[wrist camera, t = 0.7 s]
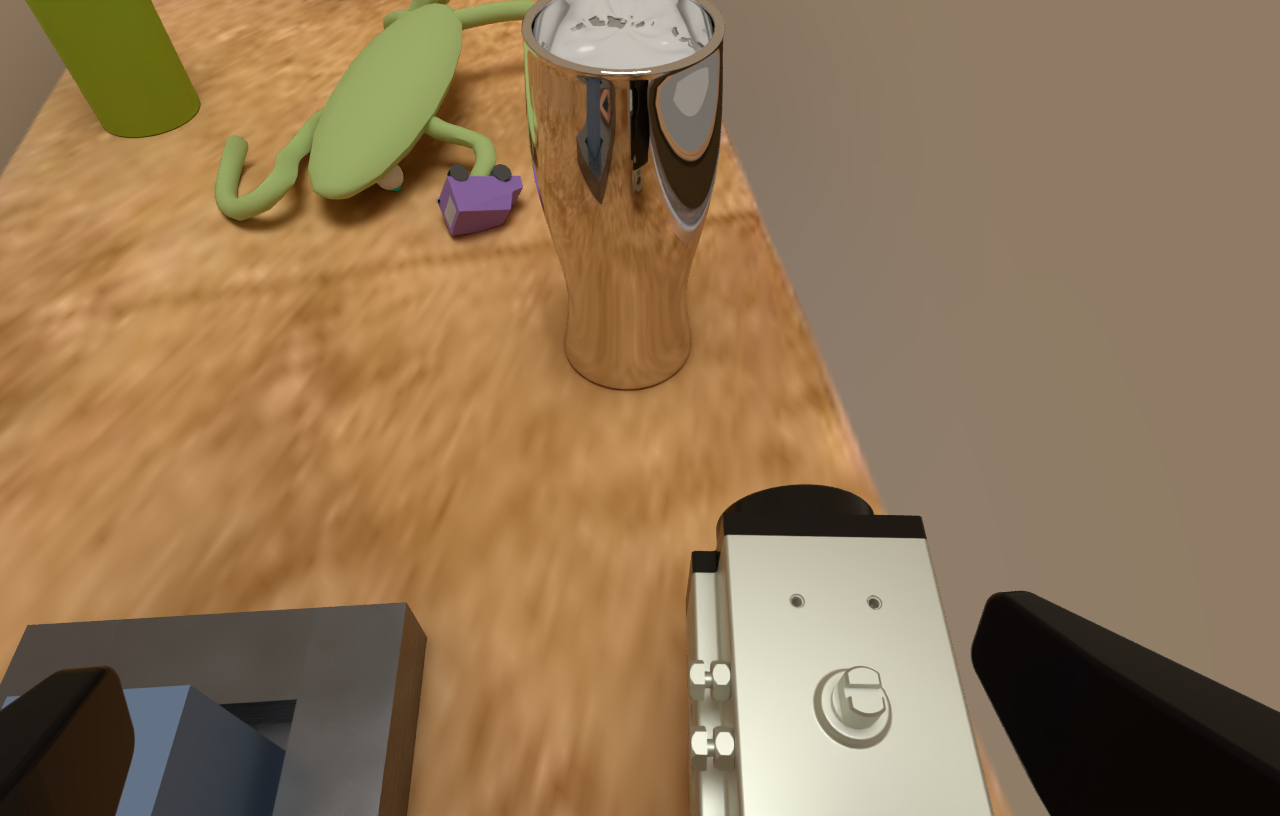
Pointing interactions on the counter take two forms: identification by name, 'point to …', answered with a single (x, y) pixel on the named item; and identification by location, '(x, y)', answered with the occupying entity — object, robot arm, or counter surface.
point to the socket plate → (274, 688)
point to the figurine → (390, 124)
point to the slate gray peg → (195, 758)
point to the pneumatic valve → (824, 666)
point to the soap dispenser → (121, 63)
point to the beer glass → (625, 170)
